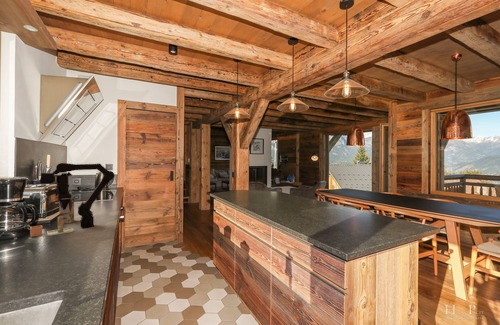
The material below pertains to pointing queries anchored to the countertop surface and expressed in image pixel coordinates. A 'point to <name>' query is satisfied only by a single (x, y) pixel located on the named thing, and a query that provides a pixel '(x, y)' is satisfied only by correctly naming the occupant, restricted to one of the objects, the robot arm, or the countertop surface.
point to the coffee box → (67, 212)
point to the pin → (60, 224)
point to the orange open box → (36, 231)
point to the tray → (65, 230)
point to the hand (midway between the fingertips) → (63, 208)
